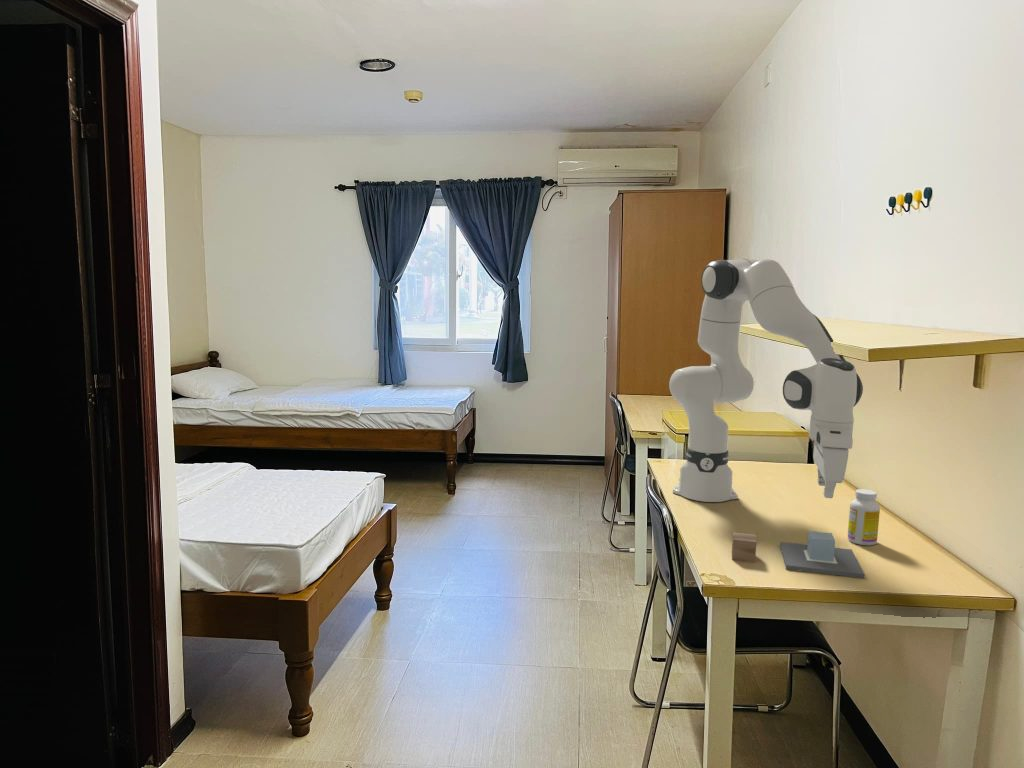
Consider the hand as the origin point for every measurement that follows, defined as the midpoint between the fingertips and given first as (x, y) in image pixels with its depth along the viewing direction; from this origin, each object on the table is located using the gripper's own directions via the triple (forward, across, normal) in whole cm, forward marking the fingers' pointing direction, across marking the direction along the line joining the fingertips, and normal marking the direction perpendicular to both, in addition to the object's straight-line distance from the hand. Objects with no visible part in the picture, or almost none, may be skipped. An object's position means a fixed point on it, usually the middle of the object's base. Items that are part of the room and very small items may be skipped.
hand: (824, 491), depth 163 cm
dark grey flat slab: (+17, 0, 0) cm, 17 cm away
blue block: (+15, 0, 0) cm, 16 cm away
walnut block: (+17, +4, -17) cm, 24 cm away
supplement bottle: (+17, -16, +12) cm, 27 cm away
